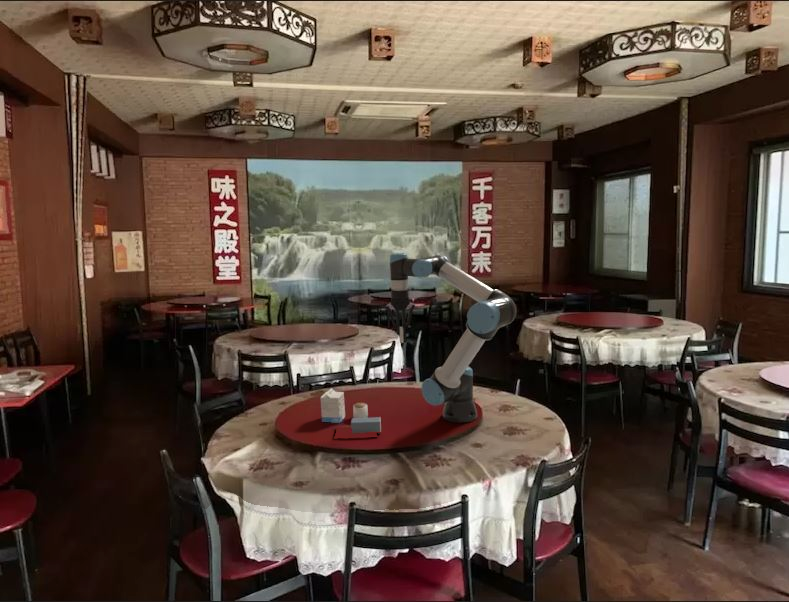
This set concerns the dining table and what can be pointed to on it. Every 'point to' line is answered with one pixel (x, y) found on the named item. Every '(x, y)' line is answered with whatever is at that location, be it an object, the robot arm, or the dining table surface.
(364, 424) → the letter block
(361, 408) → the white ceramic teacup
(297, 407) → the dining table surface
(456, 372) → the robot arm
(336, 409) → the ink box
